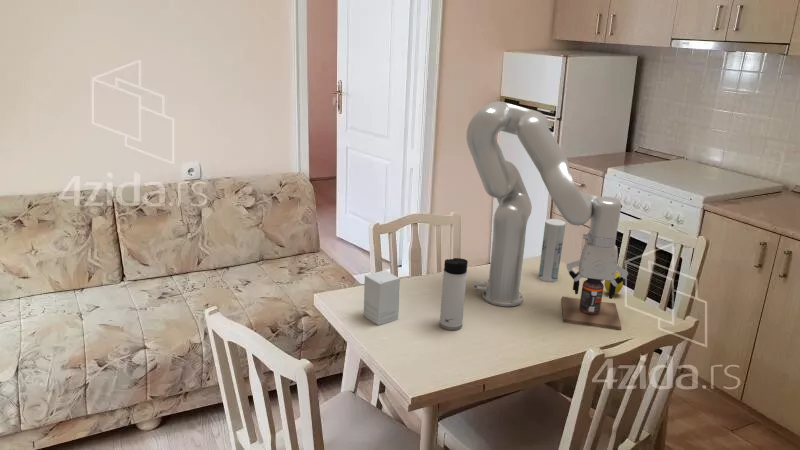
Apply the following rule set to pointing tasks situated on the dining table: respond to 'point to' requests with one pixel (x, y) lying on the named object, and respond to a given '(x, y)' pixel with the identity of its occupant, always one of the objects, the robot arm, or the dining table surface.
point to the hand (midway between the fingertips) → (592, 294)
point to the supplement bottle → (591, 296)
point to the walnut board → (603, 319)
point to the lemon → (618, 287)
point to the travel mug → (453, 293)
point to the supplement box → (381, 297)
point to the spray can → (551, 250)
